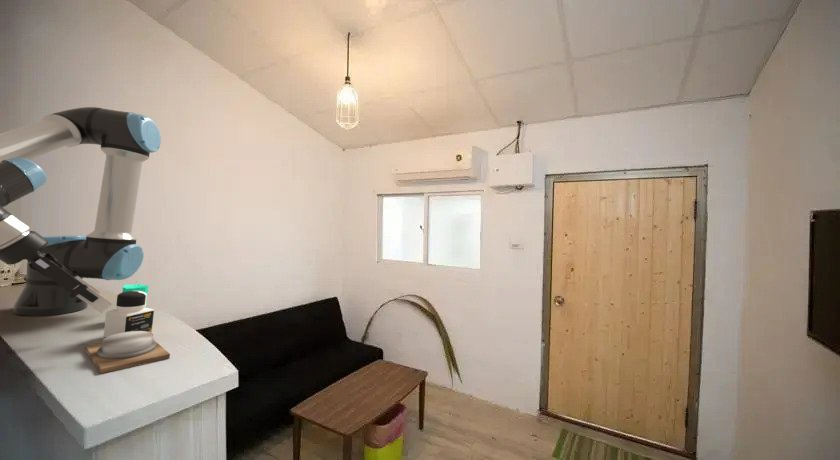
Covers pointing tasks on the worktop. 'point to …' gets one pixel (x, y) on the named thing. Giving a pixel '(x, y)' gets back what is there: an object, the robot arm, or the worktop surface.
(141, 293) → the medicine bottle
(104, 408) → the worktop surface
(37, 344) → the worktop surface
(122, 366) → the stub board
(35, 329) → the worktop surface
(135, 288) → the candle
